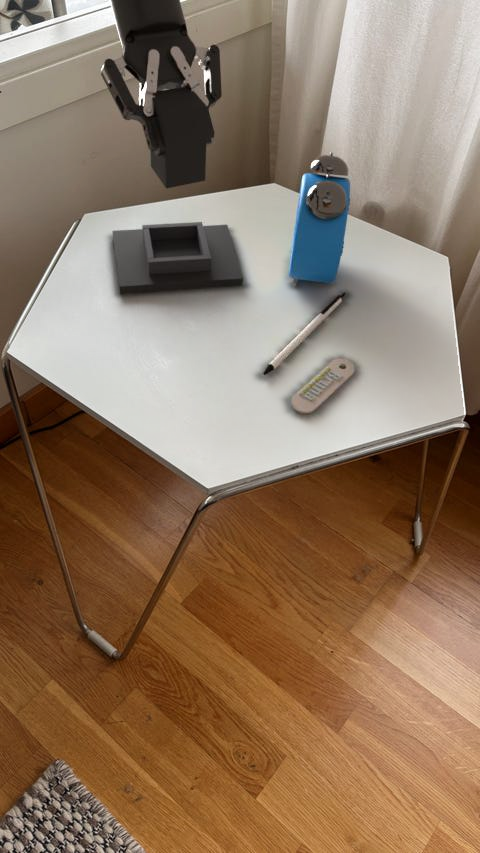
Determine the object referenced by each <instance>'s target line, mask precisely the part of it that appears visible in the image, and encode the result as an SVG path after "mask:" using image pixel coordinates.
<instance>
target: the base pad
mask: <svg viewBox="0 0 480 853" xmlns="http://www.w3.org/2000/svg"><path fill="white" fill-rule="evenodd" d="M141 227H142V228H140V229H138V228H137V229H118V230H112V241H113V249H114V256H115V257H114V258H115V264H116V265H115V266H116V273H117V274H116V275H117V281H118V290H119V295H125V294H139V293H152V292H153V293H155V292H165V291H166V292H169V291H182V290H185V291H186V290H197V289H198V290H199V289H211V288H227V287H240V286H241V287H242V286H243V283H244V277H243V273H242V271H241V266H240V264H239V260H238V256H237V254H236V250H235V246H234V243H233V240H232V236H231V233H230V229H229V225H228V224H212V225H203V222H202V221H196V222H195V221H194V222H177V223H176V222H175V223H158V224H156V223H155V224H142V226H141Z"/></svg>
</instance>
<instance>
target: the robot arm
mask: <svg viewBox="0 0 480 853" xmlns="http://www.w3.org/2000/svg"><path fill="white" fill-rule="evenodd" d="M108 1H109V4H110V7H111V11H112V15H113V18H114V23H115V26H116V30H117V33H118V37H119V40H120V44H121V47H122V54H121V57H118V58H116V59H112V58H106V59H105V60H104V62H103V65H102V68H101V70H100V75H101V78H102V80H103V82H104V84H105V85H106V87H107V90H108V92H109V93H110V95H111V96H112V99H113V101H114V103H115V105H116V107H117V109H118V111H119V113H120V115H121V117H122V119H123V120H125V121H137V122H139V123H140V124H141V126H142V130H143V134H144V137H145V141H146V145H147V148H148V150H149V152H150V151H151V152H152V151H154V153H155V155H156V156H160V155H163V153H164V152H165V145H164V141H163V138H162V134H161V130H160V126H159V123H158V119H157V116H156V117H154V103H153V99H152V97H155V96H156V92H157V91H163V90H169V89H175V88H182V87H186V88H187V89H189V90H190V91H194V92H195V93H196V94H197V95H198V96H199V98H200V99H201V100H202V101H203V102H204V103H205V105H206V106H207V137H206V148H209V146H210V145H211V144H212V143H213V142H212V141H213V139H214V138H215V129H214V125H213V122H212V118H211V113H210V108H213V107H214V106H215V105H216V103H217V102H218V101H219V100H220V99H221V98H222V95H223V94H222V74H221V73H222V72H221V70H222V69H221V51H220V48H219V46H218V45H217V44H211V45H210V46H209V47H203V46H202V47H201V46H196V45H195V43H194V42H193V40H192V39H191V38H190V35H189V33H188V27H187V23H186V18H185V15H184V10H183V8H182V3H181V0H108ZM194 60H196V61H197V62H198V66H199V69H200V70H203V82H204V83H203V85H204V91H203V89H202V87H201V86H200V81H199V79H198V78H197V76H196V74H195V72H194V71H193V69H192V66H193V63H194ZM125 70H126V71H127V72H128V73H130V75H131V76H132V77H133V78H134V79H135V80H136V81H138V82H139V94H138V95H139V96H138V102H139V104H138V103H136V101H135V100H134V97H133V96H132V93H131V91H130V90H129V87H128V85H127V83H126V82H125V77H126V72H125ZM151 152H150V153H151Z"/></svg>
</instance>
